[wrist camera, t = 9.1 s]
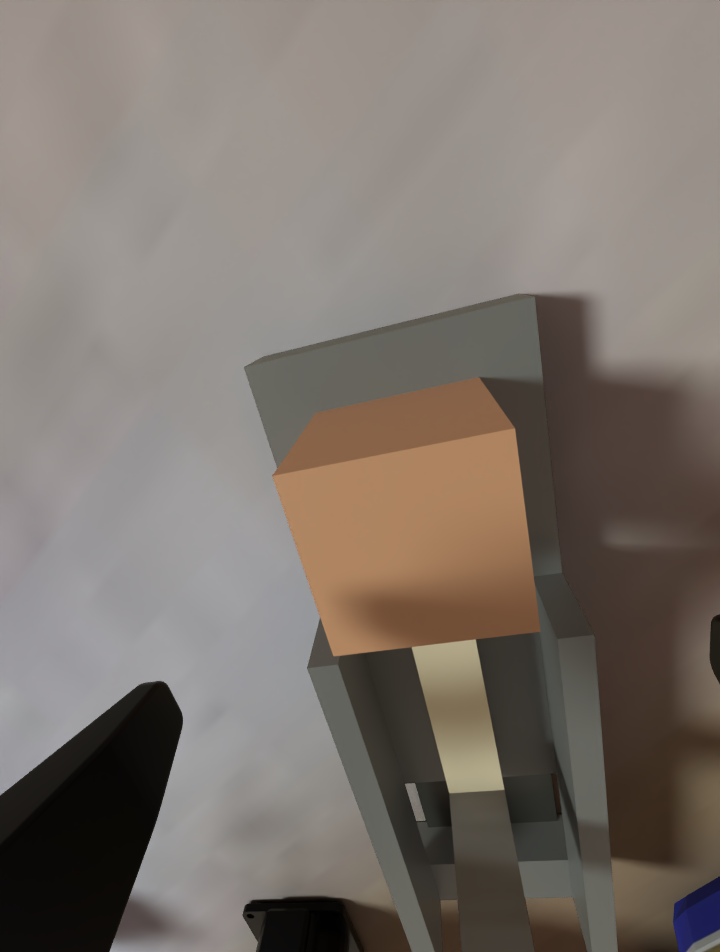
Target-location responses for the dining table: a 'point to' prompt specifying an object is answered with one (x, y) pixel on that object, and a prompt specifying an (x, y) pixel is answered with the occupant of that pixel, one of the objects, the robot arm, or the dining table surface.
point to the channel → (502, 658)
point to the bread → (699, 919)
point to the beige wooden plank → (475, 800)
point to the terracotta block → (412, 520)
